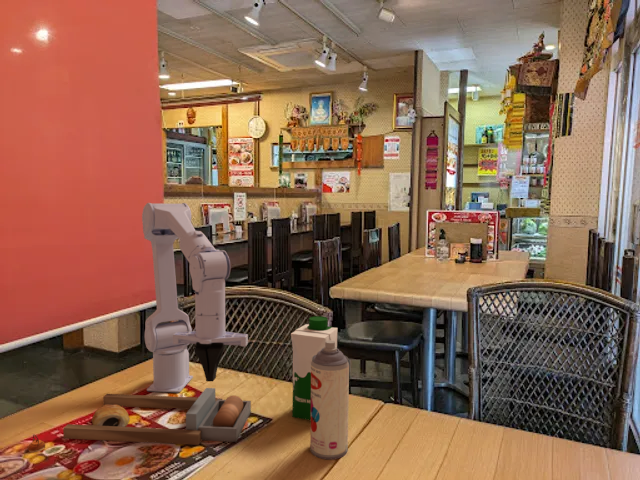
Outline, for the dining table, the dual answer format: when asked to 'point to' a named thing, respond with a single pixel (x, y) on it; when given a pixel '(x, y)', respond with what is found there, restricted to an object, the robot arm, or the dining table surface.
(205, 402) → the block
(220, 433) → the cradle
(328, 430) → the aerosol can
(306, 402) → the milk carton
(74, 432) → the rail
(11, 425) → the dining table surface
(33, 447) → the round teapot
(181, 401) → the rail
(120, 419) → the pastry
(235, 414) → the roller
